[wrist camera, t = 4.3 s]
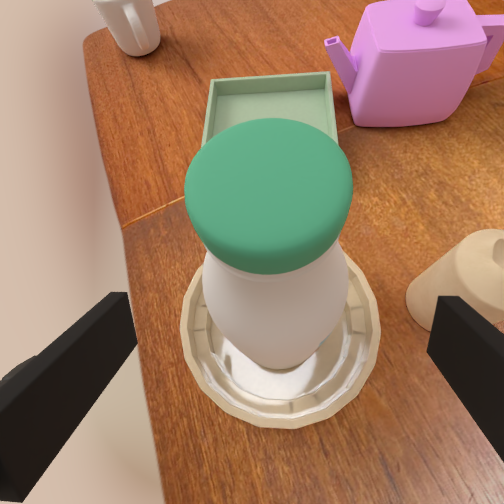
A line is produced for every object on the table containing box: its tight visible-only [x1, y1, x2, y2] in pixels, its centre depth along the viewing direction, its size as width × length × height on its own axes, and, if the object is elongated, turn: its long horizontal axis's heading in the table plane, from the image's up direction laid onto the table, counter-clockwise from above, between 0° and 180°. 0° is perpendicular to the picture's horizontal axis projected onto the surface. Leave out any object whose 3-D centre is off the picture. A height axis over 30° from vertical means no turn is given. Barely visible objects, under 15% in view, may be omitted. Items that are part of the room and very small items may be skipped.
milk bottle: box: [184, 118, 353, 369], centre depth 17 cm, size 8×8×20 cm
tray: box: [201, 71, 339, 148], centre depth 34 cm, size 15×15×2 cm
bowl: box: [180, 250, 381, 429], centre depth 24 cm, size 15×15×4 cm
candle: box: [406, 229, 504, 332], centre depth 21 cm, size 6×6×10 cm
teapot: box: [324, 0, 504, 127], centre depth 32 cm, size 18×10×10 cm, turn 89°
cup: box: [92, 0, 160, 56], centre depth 42 cm, size 11×8×8 cm
